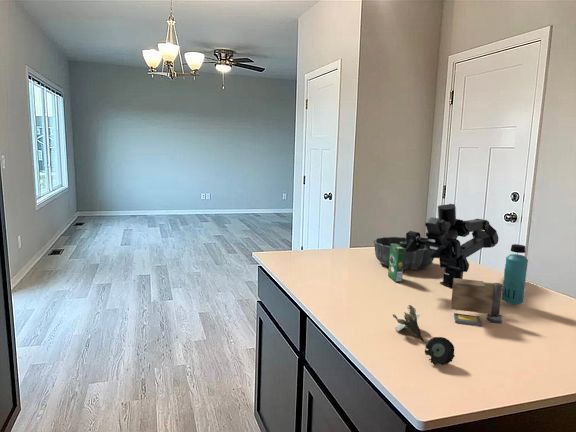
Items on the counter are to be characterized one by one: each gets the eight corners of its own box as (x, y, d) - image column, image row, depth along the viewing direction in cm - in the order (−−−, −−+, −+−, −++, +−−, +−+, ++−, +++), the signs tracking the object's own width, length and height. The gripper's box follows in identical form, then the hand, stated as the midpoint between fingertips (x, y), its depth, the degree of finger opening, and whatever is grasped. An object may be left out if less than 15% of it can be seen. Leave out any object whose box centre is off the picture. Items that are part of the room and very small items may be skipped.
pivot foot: (492, 317, 129) (493, 311, 129) (504, 321, 126) (505, 316, 126) (483, 319, 128) (483, 313, 127) (495, 324, 124) (496, 318, 124)
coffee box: (402, 282, 161) (405, 248, 159) (395, 282, 160) (397, 248, 158) (394, 276, 169) (397, 243, 167) (387, 276, 168) (389, 243, 166)
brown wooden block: (498, 313, 127) (501, 281, 126) (502, 321, 121) (506, 288, 119) (450, 307, 131) (453, 276, 129) (452, 315, 125) (454, 282, 123)
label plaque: (479, 318, 128) (479, 315, 128) (481, 326, 122) (482, 323, 122) (453, 315, 130) (454, 312, 130) (455, 322, 124) (455, 320, 124)
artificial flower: (420, 372, 99) (410, 330, 98) (394, 340, 121) (386, 305, 121) (458, 362, 99) (448, 320, 99) (425, 332, 121) (417, 297, 121)
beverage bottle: (521, 303, 142) (528, 243, 139) (524, 310, 136) (532, 248, 132) (499, 300, 144) (505, 241, 141) (501, 307, 138) (508, 245, 134)
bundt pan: (386, 254, 204) (388, 233, 203) (443, 264, 189) (445, 241, 187) (361, 265, 183) (363, 242, 181) (423, 277, 168) (425, 252, 166)
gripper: (418, 211, 154) (392, 225, 145) (469, 218, 141) (444, 235, 131) (420, 240, 158) (394, 256, 148) (469, 250, 144) (445, 268, 135)
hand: (418, 253), depth 141 cm, fingers open, 9 cm apart
